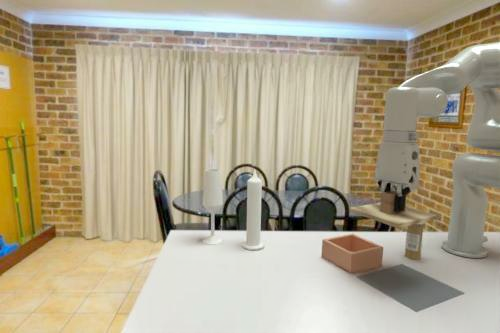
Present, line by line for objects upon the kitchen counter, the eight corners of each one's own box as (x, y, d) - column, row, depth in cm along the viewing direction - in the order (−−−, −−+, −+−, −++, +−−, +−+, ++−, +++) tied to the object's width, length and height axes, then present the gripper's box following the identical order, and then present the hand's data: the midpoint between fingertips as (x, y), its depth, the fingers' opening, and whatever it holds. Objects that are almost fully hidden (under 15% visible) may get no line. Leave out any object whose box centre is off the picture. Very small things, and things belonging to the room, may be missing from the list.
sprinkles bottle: (423, 259, 105) (428, 216, 102) (414, 263, 102) (419, 219, 100) (409, 254, 108) (413, 212, 106) (400, 257, 106) (404, 215, 104)
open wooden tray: (351, 251, 110) (352, 233, 109) (381, 267, 99) (383, 247, 98) (321, 258, 104) (322, 239, 103) (350, 275, 93) (351, 254, 93)
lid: (387, 204, 100) (389, 184, 99) (437, 219, 87) (439, 196, 86) (349, 211, 93) (351, 189, 92) (397, 228, 80) (400, 203, 79)
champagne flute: (226, 240, 117) (227, 170, 113) (212, 246, 112) (212, 172, 108) (213, 235, 121) (213, 167, 117) (198, 240, 116) (198, 170, 112)
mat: (401, 265, 100) (402, 263, 100) (464, 295, 84) (465, 293, 84) (355, 278, 92) (355, 276, 92) (416, 314, 76) (416, 312, 76)
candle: (238, 248, 110) (239, 170, 106) (247, 240, 117) (248, 167, 113) (259, 252, 108) (261, 172, 104) (267, 244, 114) (269, 169, 110)
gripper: (439, 140, 82) (431, 215, 85) (382, 135, 96) (376, 200, 99) (419, 141, 78) (411, 220, 81) (362, 135, 92) (358, 203, 95)
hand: (392, 208), depth 90 cm, fingers closed on lid, 3 cm apart
